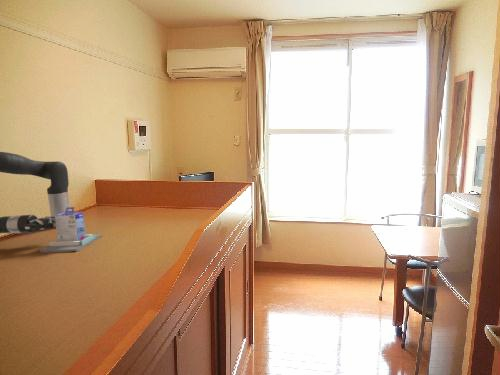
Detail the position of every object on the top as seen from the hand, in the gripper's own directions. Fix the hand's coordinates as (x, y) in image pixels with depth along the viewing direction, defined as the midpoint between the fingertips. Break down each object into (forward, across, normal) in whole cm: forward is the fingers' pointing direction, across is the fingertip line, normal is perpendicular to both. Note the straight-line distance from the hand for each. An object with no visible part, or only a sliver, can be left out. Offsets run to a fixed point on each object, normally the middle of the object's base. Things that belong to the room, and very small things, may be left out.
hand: (59, 222), depth 146 cm
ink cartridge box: (+5, 0, +9) cm, 10 cm away
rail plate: (+5, 0, +9) cm, 11 cm away
